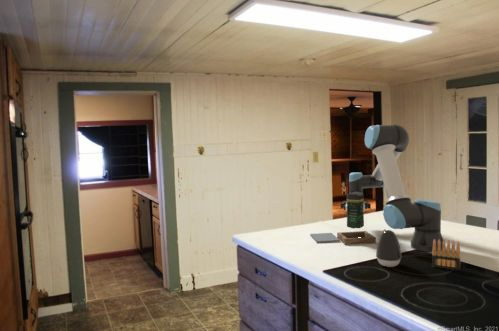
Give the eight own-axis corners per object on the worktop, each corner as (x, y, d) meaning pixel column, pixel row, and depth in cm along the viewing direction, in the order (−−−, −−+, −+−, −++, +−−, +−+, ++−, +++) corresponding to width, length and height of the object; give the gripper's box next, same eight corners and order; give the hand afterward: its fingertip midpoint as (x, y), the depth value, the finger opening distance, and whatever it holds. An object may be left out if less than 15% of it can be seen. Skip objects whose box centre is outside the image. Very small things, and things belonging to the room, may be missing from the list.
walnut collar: (375, 243, 211) (375, 237, 210) (345, 244, 209) (345, 239, 209) (366, 236, 225) (366, 231, 224) (337, 238, 223) (337, 232, 223)
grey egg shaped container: (395, 260, 182) (395, 226, 180) (405, 268, 171) (405, 232, 170) (372, 261, 181) (372, 227, 180) (381, 269, 171) (380, 233, 170)
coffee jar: (359, 229, 210) (359, 193, 209) (345, 228, 215) (344, 192, 214) (366, 225, 218) (365, 191, 217) (351, 224, 223) (351, 190, 222)
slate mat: (339, 241, 215) (339, 240, 215) (317, 243, 214) (317, 241, 214) (331, 234, 231) (331, 232, 231) (310, 235, 230) (310, 233, 230)
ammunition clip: (460, 269, 168) (460, 240, 167) (460, 270, 166) (460, 241, 165) (432, 266, 173) (432, 238, 173) (431, 267, 172) (431, 239, 171)
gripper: (375, 208, 231) (376, 216, 209) (337, 208, 236) (334, 215, 214) (375, 195, 230) (376, 201, 208) (336, 195, 236) (334, 201, 214)
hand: (355, 208), depth 211 cm, fingers closed on coffee jar, 8 cm apart
